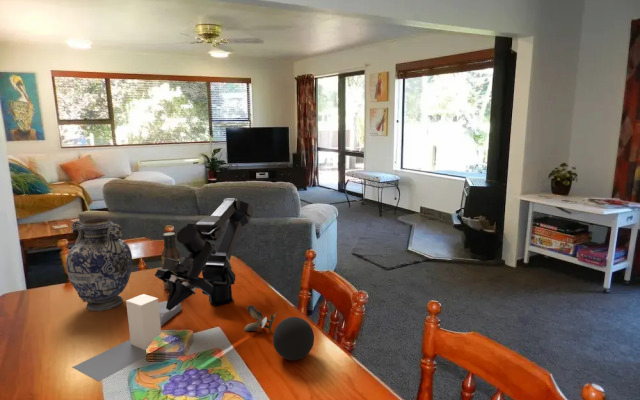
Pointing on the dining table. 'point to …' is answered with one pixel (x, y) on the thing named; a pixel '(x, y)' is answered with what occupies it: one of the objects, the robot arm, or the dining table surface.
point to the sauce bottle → (169, 250)
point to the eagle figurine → (260, 322)
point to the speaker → (293, 338)
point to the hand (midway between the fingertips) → (167, 309)
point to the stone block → (167, 312)
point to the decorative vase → (99, 263)
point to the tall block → (143, 320)
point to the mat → (111, 361)
